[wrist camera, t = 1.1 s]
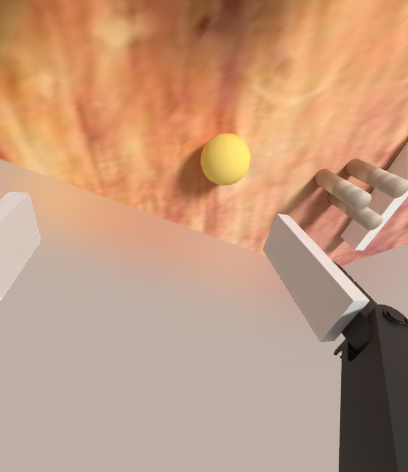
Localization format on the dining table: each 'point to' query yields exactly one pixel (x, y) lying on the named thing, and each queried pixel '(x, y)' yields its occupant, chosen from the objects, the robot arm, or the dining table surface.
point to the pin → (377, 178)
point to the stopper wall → (378, 206)
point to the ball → (225, 159)
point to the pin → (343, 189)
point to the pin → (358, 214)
